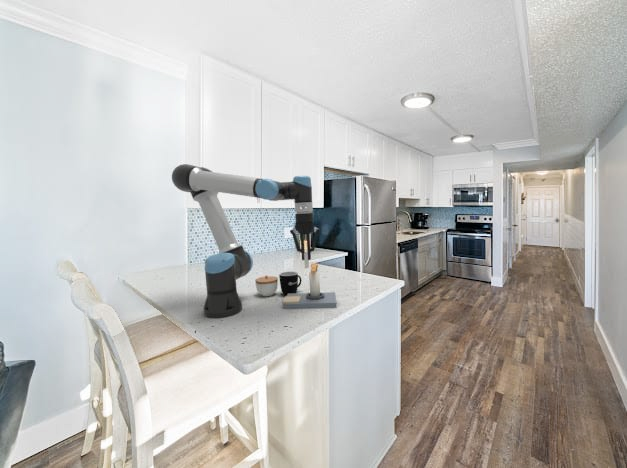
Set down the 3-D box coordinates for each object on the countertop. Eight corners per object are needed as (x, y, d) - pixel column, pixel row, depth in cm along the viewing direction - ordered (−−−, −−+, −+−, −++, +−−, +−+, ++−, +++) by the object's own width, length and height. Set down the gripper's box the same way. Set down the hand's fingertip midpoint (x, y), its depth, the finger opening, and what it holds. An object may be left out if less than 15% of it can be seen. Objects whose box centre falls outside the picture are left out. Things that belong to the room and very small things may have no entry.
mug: (287, 298, 128) (286, 276, 127) (276, 294, 134) (275, 273, 133) (307, 292, 135) (306, 272, 135) (296, 288, 142) (295, 269, 141)
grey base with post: (282, 308, 114) (280, 275, 113) (287, 297, 128) (285, 267, 127) (336, 307, 113) (335, 273, 112) (335, 296, 127) (334, 266, 126)
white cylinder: (309, 298, 119) (308, 273, 118) (310, 295, 123) (309, 271, 122) (320, 298, 119) (319, 273, 118) (320, 295, 123) (319, 271, 122)
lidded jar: (254, 293, 138) (253, 274, 137) (275, 290, 141) (274, 272, 140) (258, 299, 128) (257, 279, 127) (280, 295, 131) (279, 276, 131)
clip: (311, 266, 126) (311, 263, 126) (318, 266, 126) (318, 263, 126) (309, 273, 112) (309, 270, 112) (317, 273, 112) (317, 270, 112)
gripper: (287, 213, 113) (290, 269, 116) (319, 212, 113) (321, 268, 115) (290, 213, 121) (292, 266, 123) (319, 212, 120) (321, 265, 122)
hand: (306, 267), depth 119 cm, fingers closed
